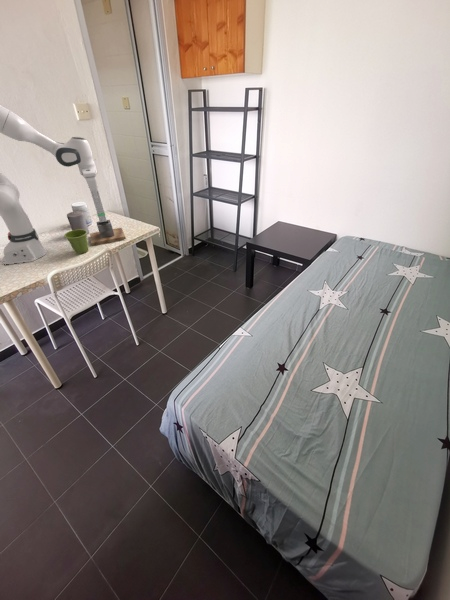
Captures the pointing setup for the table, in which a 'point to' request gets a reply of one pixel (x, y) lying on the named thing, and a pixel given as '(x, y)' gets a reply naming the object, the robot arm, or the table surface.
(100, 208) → the column
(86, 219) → the supplement tub
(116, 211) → the table surface
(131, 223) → the table surface
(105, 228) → the stand
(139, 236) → the table surface
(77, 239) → the plant pot
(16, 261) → the robot arm
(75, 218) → the pillar candle
